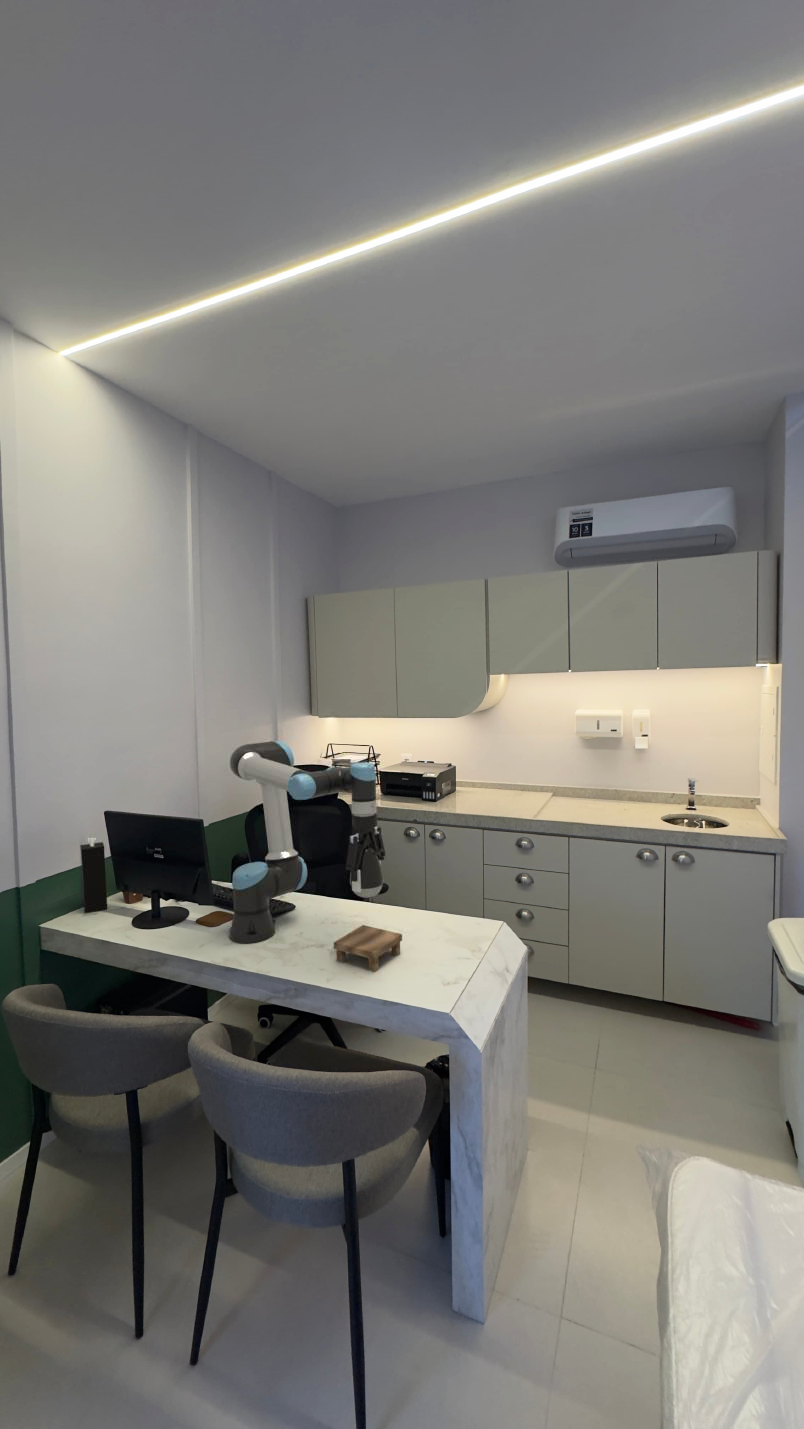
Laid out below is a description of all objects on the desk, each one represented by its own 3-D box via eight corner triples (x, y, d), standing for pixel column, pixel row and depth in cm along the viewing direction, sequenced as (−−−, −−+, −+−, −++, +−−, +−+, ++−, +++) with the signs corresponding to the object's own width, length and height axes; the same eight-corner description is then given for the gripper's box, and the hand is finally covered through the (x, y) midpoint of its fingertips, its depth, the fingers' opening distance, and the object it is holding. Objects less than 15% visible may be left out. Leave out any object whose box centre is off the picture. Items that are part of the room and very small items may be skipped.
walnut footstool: (334, 961, 184) (333, 942, 184) (363, 943, 197) (362, 924, 197) (375, 973, 176) (374, 952, 176) (402, 952, 189) (402, 934, 189)
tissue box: (107, 909, 234) (103, 837, 232) (84, 913, 230) (80, 841, 228) (106, 903, 241) (102, 833, 239) (83, 907, 237) (79, 836, 235)
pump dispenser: (380, 901, 179) (378, 850, 179) (346, 900, 181) (344, 849, 181) (388, 889, 189) (386, 841, 189) (355, 888, 191) (354, 841, 191)
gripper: (351, 822, 173) (354, 899, 174) (395, 807, 192) (397, 877, 193) (331, 820, 177) (334, 895, 178) (375, 806, 196) (378, 873, 197)
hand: (367, 885), depth 185 cm, fingers closed on pump dispenser, 10 cm apart
